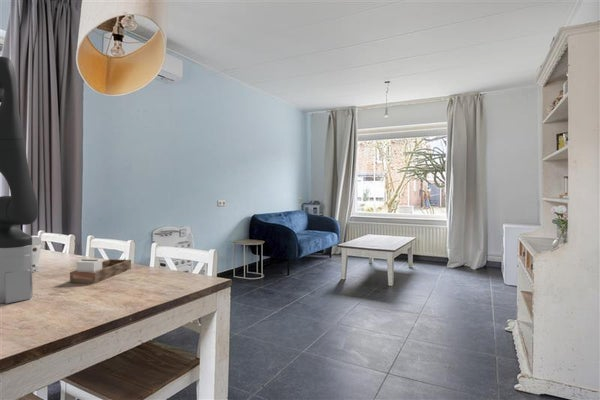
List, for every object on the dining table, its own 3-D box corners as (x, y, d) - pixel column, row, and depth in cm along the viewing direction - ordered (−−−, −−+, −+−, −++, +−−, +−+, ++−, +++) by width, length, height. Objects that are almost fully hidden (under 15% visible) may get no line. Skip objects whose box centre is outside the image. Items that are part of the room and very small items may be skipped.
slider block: (85, 274, 134) (85, 258, 133) (102, 274, 133) (102, 258, 133) (76, 277, 129) (76, 260, 128) (93, 277, 128) (93, 261, 128)
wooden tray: (109, 268, 151) (109, 259, 151) (130, 268, 151) (130, 259, 151) (70, 282, 127) (69, 272, 127) (95, 283, 127) (95, 272, 127)
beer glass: (16, 272, 141) (15, 237, 141) (33, 268, 148) (33, 235, 147) (28, 273, 139) (27, 238, 139) (45, 270, 146) (44, 235, 145)
